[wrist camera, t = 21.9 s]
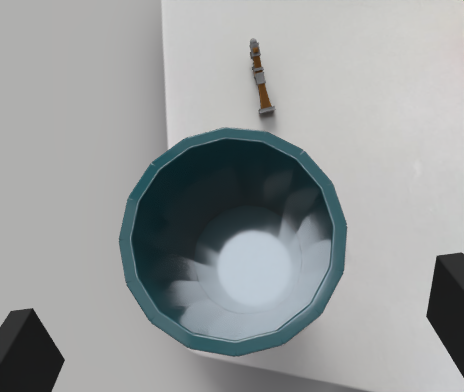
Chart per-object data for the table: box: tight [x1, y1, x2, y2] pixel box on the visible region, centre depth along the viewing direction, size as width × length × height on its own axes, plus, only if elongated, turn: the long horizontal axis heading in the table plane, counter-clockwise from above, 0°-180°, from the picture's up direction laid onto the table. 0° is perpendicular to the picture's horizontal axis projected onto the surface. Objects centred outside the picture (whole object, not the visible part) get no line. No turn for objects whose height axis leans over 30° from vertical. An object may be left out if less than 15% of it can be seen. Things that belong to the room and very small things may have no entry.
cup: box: [119, 127, 347, 357], centre depth 17 cm, size 7×7×11 cm
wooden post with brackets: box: [250, 38, 275, 114], centre depth 42 cm, size 2×8×4 cm, turn 11°
